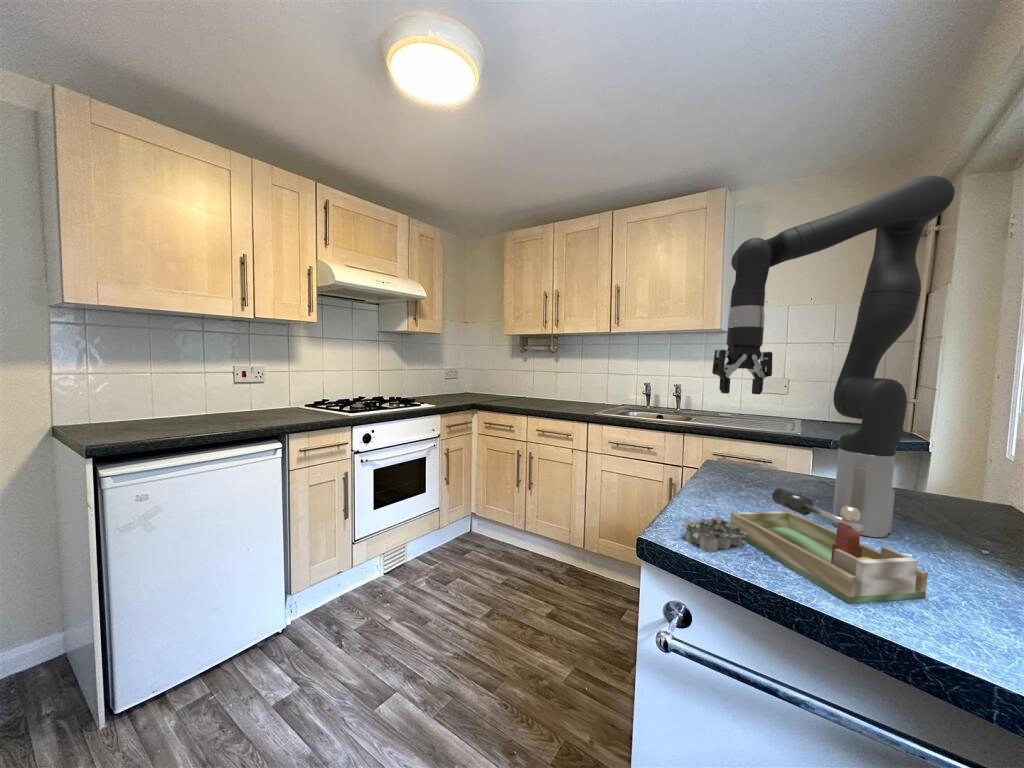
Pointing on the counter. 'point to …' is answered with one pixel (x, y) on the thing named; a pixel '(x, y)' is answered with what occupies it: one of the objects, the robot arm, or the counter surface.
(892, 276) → the robot arm
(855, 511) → the foosball player rod
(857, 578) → the wooden tray
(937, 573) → the counter surface
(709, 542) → the egg carton
